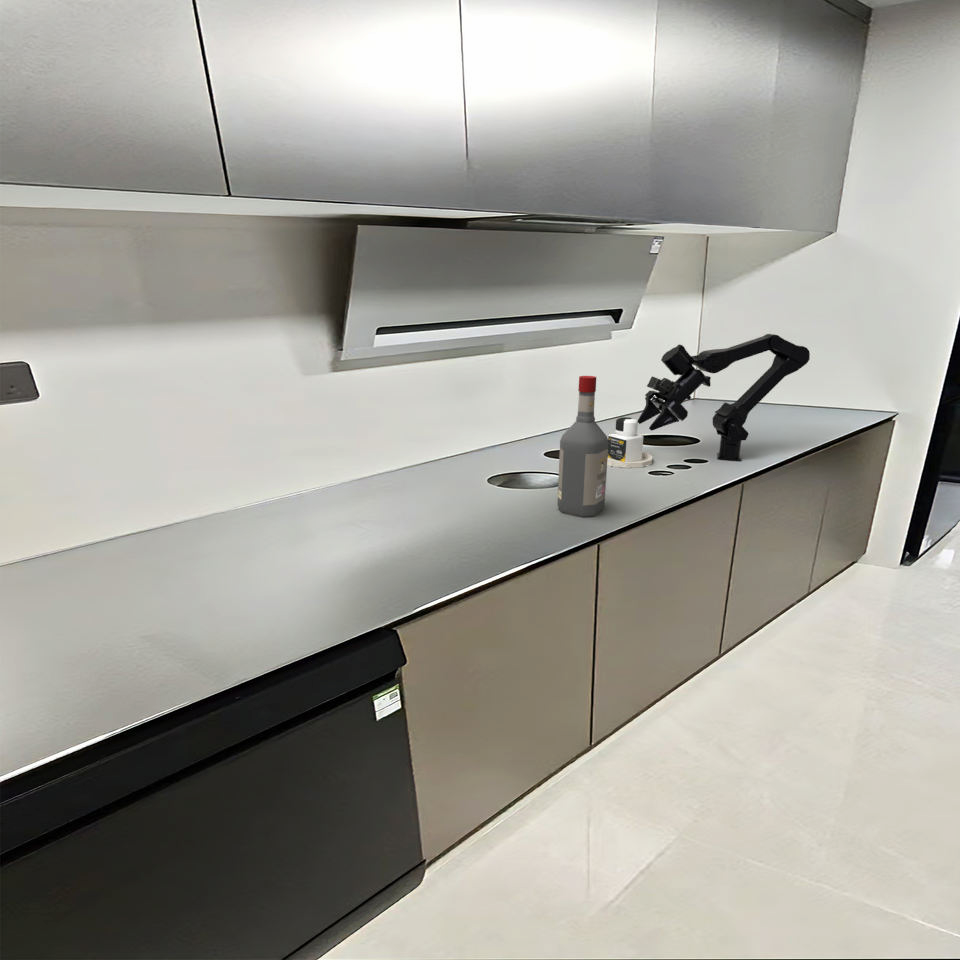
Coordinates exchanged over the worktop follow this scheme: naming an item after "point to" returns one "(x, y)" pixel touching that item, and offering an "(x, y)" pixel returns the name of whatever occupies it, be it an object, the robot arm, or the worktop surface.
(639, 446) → the medicine bottle
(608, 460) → the coaster
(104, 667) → the worktop surface
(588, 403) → the liquor
